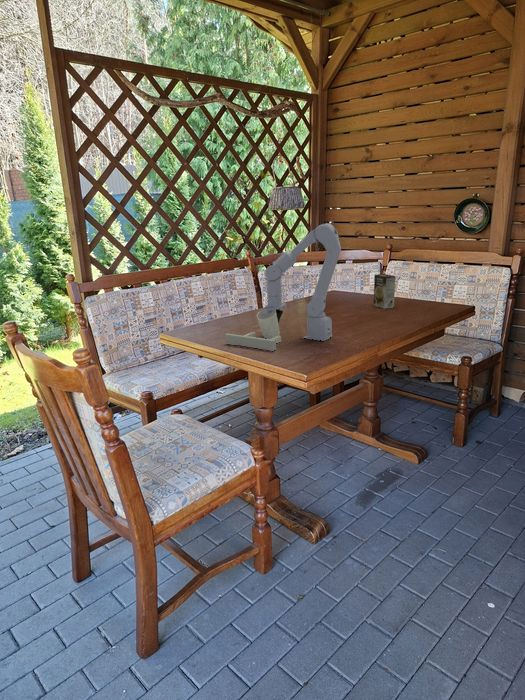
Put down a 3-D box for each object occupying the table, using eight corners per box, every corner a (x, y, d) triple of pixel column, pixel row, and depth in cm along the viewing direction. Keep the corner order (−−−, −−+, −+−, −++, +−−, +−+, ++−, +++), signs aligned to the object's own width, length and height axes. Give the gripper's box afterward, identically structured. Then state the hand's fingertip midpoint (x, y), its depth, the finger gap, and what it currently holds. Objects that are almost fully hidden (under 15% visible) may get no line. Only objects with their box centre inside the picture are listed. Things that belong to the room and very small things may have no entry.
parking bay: (291, 343, 182) (290, 333, 181) (273, 351, 172) (273, 341, 171) (244, 336, 194) (243, 327, 192) (225, 344, 184) (225, 334, 182)
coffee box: (372, 306, 243) (373, 274, 239) (382, 304, 246) (384, 273, 241) (384, 309, 235) (385, 276, 231) (394, 307, 238) (396, 275, 233)
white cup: (266, 342, 187) (260, 321, 181) (259, 334, 193) (253, 313, 188) (284, 335, 188) (279, 314, 183) (277, 327, 195) (271, 306, 189)
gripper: (275, 291, 196) (276, 323, 200) (256, 297, 185) (257, 330, 189) (290, 292, 193) (290, 325, 197) (271, 299, 181) (271, 333, 185)
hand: (275, 328), depth 193 cm, fingers closed, pressing on white cup
